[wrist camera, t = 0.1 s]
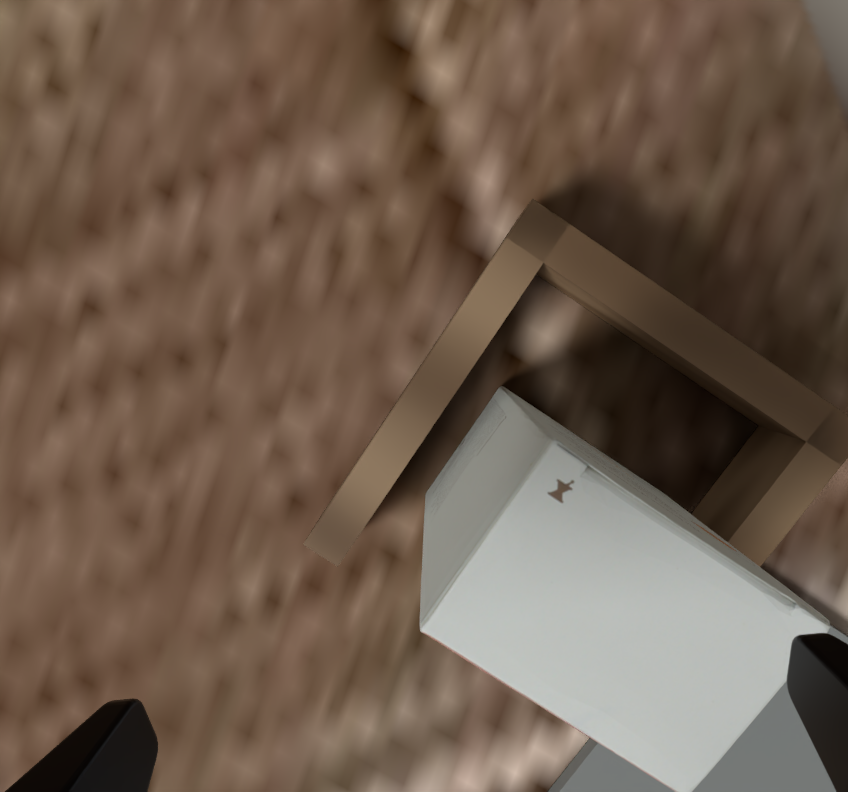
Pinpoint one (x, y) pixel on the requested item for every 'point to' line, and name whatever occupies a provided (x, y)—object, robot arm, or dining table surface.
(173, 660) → the dining table surface
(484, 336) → the walnut bay
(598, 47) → the dining table surface
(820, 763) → the slate mat
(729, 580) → the small box
